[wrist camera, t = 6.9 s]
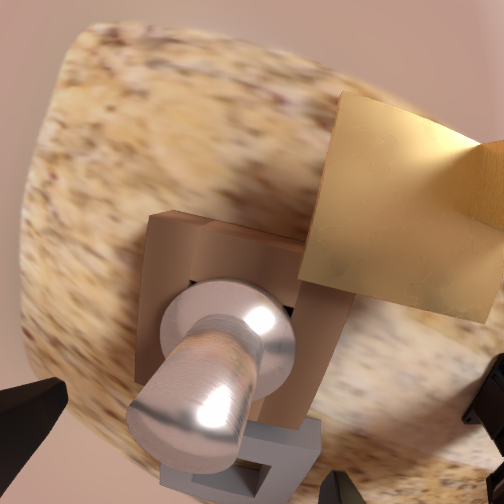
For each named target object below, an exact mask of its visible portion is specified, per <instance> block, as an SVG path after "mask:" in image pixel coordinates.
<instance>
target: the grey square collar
mask: <svg viewBox="0 0 504 504" xmlns="http://www.w3.org/2000/svg"><path fill="white" fill-rule="evenodd" d="M321 451H322V443H321V420H317V419H311V418H306V417H305V418H304V420H303V422H302V425H301V427H300V429H299V431H297V430H292V429H287V428H282V427H277V426H273V425H268V424H264V423H260V422H255V421H251V420H247V423H246V426H245V430H244V434H243V438H242V441H241V445H240V448H239V452H238V456H237V458H239V459H243V460H247V461H251V462H256V463H260V464H263V465H262V467H261V469H260V471H257V470H253V469H248V468H244V467H240V466H236V465H231V466H230V467H229V468H227V469H226V470H223V471H221V472H217V473H213V474H194V473H188V472H184V471H180V470H177V469H174V468H172V467H169V466H167V465H165V464H163V463H161V462H160V485H162V486H165V487H168V488H171V489H173V490H176V491H179V492H182V493H185V494H188V495H191V496H194V497H198V498H201V499H205V500H208V501H212V502H215V503H219V504H286V503H287V502H288V500H289V499H290V497H291V496H292V495H293V493H294V492H295V490H296V489H297V488H298V486H299V485H300V483H301V482H302V480H303V479H304V478H305V476H306V475H307V473H308V472H309V470H310V469H311V467H312V465H313V464H314V462H315V461H316V459H317V458H318V456H319V454H320V453H321Z"/></svg>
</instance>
